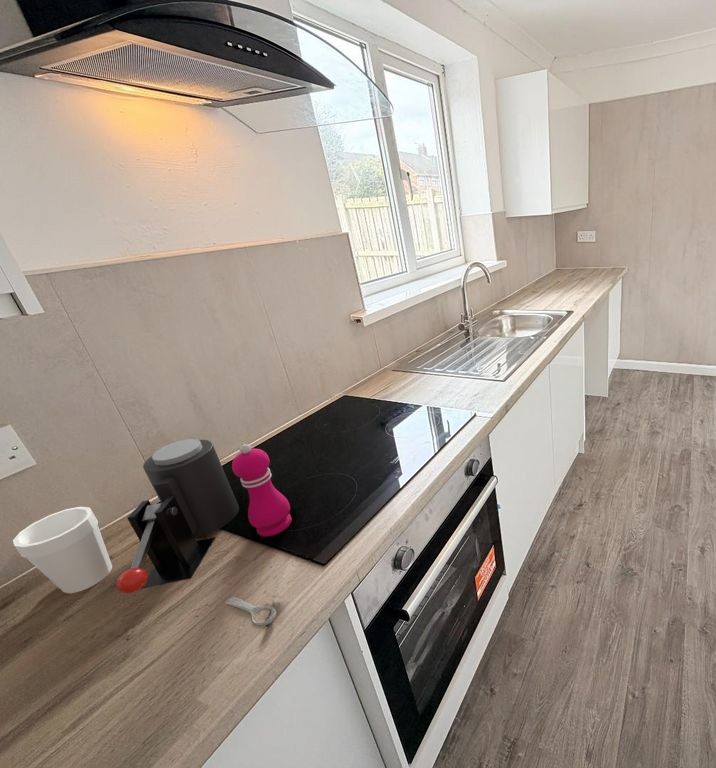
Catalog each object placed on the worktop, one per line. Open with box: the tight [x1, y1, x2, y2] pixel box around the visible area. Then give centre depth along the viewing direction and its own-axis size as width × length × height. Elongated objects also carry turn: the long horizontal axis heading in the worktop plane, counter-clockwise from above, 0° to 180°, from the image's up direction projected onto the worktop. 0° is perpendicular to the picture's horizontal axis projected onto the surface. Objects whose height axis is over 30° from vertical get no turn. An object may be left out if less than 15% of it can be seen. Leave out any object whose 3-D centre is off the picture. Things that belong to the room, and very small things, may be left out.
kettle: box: [142, 438, 240, 539], centre depth 83 cm, size 16×11×18 cm
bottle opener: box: [225, 596, 277, 626], centre depth 66 cm, size 3×12×2 cm, turn 67°
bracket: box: [126, 496, 217, 590], centre depth 73 cm, size 10×8×14 cm
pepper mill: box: [231, 443, 293, 538], centre depth 79 cm, size 7×7×20 cm
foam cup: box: [12, 506, 113, 594], centre depth 72 cm, size 10×9×13 cm
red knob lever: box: [115, 502, 162, 594], centre depth 68 cm, size 14×4×4 cm, turn 12°
